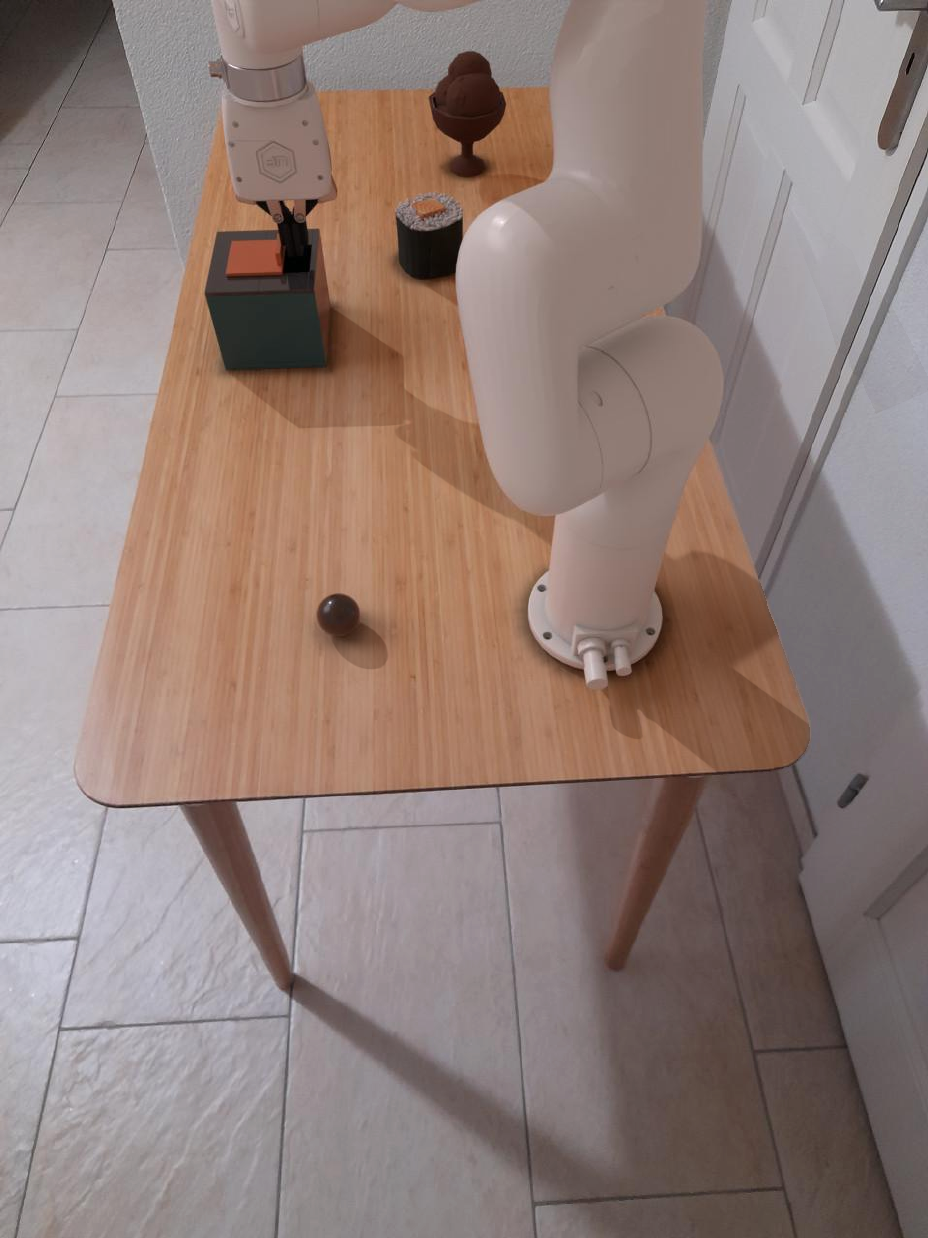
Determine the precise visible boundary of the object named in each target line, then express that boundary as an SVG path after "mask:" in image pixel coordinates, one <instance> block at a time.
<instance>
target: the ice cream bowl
mask: <svg viewBox="0 0 928 1238" xmlns="http://www.w3.org/2000/svg"><path fill="white" fill-rule="evenodd" d="M492 73H493V72H492V69H491V63H490V61H489V60H487V58H486V57H484V55H482V54H481V53H480V52H477V51H474V50H467V51H464V52H460V53H458V54H457V55H456V56H455V57H454V58H453V59H452V61H451V62H450V63H449V65H448V67H447V75H445V76H444V77H443V78H442V79H441V80H439V81H438V83H437V85H436V88H435V91H434V92H433V93H431V94H430V95H429V96H428V101H429V106H430V110H431V115H432V120H433V122H434V124H435V127H436V128H437V129H438V130H439V131H440V132H441V133H443V135H445V136H447V137H448V138H450V139H452V140H454V141H455V142H457V143H460V145H461V146H460V147H461V148H460V151H461V152H460V154H459V155H457V156H455V157H454V158H452V159H451V160H450V161H449V164H448V167H449V172H451V173H452V174H454V175H456V176H457V177H467V178H471V177H475V176H479V175H481V174H482V173H483V172H485V170H486V166H485V162H484V159H482V158H481V157H479V156H477V155H475V154H474V143H475V142H480V141H481V140H483V139H485V138H486V137H487V136H488V135H489V134H491V133H492V132H493V131H494V130H495V129H496V128H497V127H498V126H499V125H500V124H501V122H502V120H503V118H504V115H505V112H506V107H507V102H506V98H505V95H504V92H503V91H501V89H500V87H499V85H498V84H497V82H496V80H495V78H494V77H493V76H492V75H493V74H492Z"/></svg>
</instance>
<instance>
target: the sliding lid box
mask: <svg viewBox="0 0 928 1238" xmlns="http://www.w3.org/2000/svg"><path fill="white" fill-rule="evenodd" d="M307 229H308V236H309V244H308V245H304V250H303V257H298V255H296V253H295V255H294V256H293V257H288V253H287V247H286V249H285V257H284V265H283V273H282V275H261V276H229V277H227V276H226V270H227V264H228V259H229V254H230V248H231V243H232V241H249V240H277V235H278V233H279V232H278V229H263V230H262V229H260V230H258V229H256V230H226V231H225V230H224V231H216V234H215V237H214V238H215V239H214V243H213V249H212V253H211V259H210V263H209V268H208V273H207V278H206V282H205V287H204V292H203V294H204V296H205V300H206V305H207V308H208V311H209V315H210V319H211V323H212V326H213V329H214V333H215V337H216V340H217V345H218V348H219V351H220V354H221V359H222V361H223V366H224V369H225V371H244V370H245V371H247V370H274V369H275V370H277V369H278V370H279V369H305V368H306V369H307V368H327V366H328V352H329V339H330V338H329V337H330V336H329V335H330V322H331V308H332V307H331V306H332V305H331V299H330V291H329V286H328V277H327V271H326V265H325V258H324V251H323V245H322V238H321V230H320V228H307Z"/></svg>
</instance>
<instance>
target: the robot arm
mask: <svg viewBox="0 0 928 1238" xmlns="http://www.w3.org/2000/svg"><path fill="white" fill-rule="evenodd" d="M481 1H482V0H210V4H211V9H212V14H213V18H214V23H215V29H216V32H217V37H218V42H219V43H218V44H219V48H220V52H221V54H220V57H219V58H216V60H209V61H208V70H209V75H210V77H211V78H219V79H220V80H222V81H223V82H224V83H225V86H224V88H223V90H222V92H221V116H222V118H221V119H222V127H223V136H224V142H225V143H224V144H225V149H226V155H227V161H228V166H229V167H228V168H229V173H230V180H231V184H232V188H233V190H234V193H235V199H236V201H237V202H239V203H242V204H248V205H252V206H255V205H256V206H258V207H259V208H260V209H261V210H263V211H264V212H265V213H266V214H268V215H269V216H270V217H271V219H272V221H273V222H274V223H275V224H276V226H277V230H278V232H279V237H280V242H281V246H286V247H287V253H288V257H293V256H294V255H295V253H296V255H298V257H303V250H304V245H308V244H309V236H308V229H309V228H308V223H307V217H308V215H310V213H311V212H312V211H313V210H314V209H315V207H316V206H317V205H318V204H323V203H327V202H331V201H334V200H336V199H337V197H338V187H337V184H336V182H335V179H334V176H333V174H332V171H333V164H332V163H333V162H332V157H331V156H332V155H331V149H330V143H329V138H328V132H327V129H326V128H327V127H326V124H325V119H324V115H323V110H322V107H321V103H320V100H319V96H318V93H317V90H316V87H315V84H314V83H313V81H312V80H311V79H309V78H307V72H306V64H305V58H304V57H305V56H304V51H303V47H304V46H307V45H311V44H313V43H315V42H318V41H320V40H321V41H322V40H324V39H328V38H332V37H335V36H338V35H342V34H344V33H348V32H352V31H356V30H359V29H363V28H365V27H368V26H370V25H372V24H374V23H375V22H376V23H377V21H380V19H382V18H384V16H386V15H387V14H388V13H389V12H390V11H392V10H393V8H395V6H397V5H401V6H404V7H405V8H408V9H412V10H415V11H419V12H425V13H426V12H427V13H436V12H437V13H438V12H445V11H451V10H456V9H460V8H463V7H466V6H468V5H471V4H475V3H477V2H481ZM708 1H709V0H570V3H569V5H568V7H567V10H566V12H565V15H564V17H563V20H562V23H561V25H560V29H559V32H558V36H557V39H556V44H555V48H554V52H553V56H552V60H551V61H552V62H551V66H550V73H549V81H548V102H549V103H548V104H549V111H550V119H551V127H552V128H551V129H552V142H553V143H552V147H553V148H552V149H553V150H552V151H553V153H552V154H553V156H552V157H553V158H552V169H551V172H550V174H549V176H548V177H547V178H546V180H544V181H542V182H541V183H537V184H536V185H533V186H531V187H528V188H526V189H523V190H520V191H519V192H516V193H514V194H512V195H509V196H507V197H505V198H503V199H501V200H498V201H496V202H495V203H493V204H492V205H491V206H489V207H487V208H486V209H484V210H483V211H482V212H481V213H479V215H477V217H476V218H475V219H474V220H473V221H472V222H471V223H470V225H469V227H468V228H467V230H466V232H465V233H464V234H463V240H462V243H461V246H460V249H459V254H458V260H457V265H456V273H455V292H456V293H455V294H456V300H457V301H456V302H457V308H458V316H459V321H460V327H461V332H462V337H463V342H464V348H465V349H464V350H465V354H466V358H467V364H468V370H469V376H470V381H471V387H472V392H473V398H474V403H475V409H476V415H477V421H478V426H479V430H480V431H479V432H480V435H481V440H482V444H483V448H484V452H485V455H486V458H487V461H488V464H489V467H490V471H491V472H492V475H493V477H494V479H495V481H496V483H497V484H498V486H499V488H500V490H501V491H502V492H503V494H504V495H505V497H506V498H507V499H508V500H509V501H510V502H511V503H512V504H513V505H514V506H515V507H516V508H518V509H520V510H521V511H523V512H524V513H527V514H529V515H532V516H538V517H554V522H553V523H554V524H553V533H552V541H551V550H550V557H549V564H548V565H549V567H548V571H546V572H545V573H543V575H541V577H539V579H538V580H536V582H535V584H534V585H533V587H532V589H531V593H530V595H529V598H528V604H527V621H528V624H529V625H528V626H529V628H530V630H531V633H532V635H533V637H534V639H535V641H537V643H538V645H540V647H541V648H542V649H543V650H544V651H545V652H546V653H548V654H549V655H550V656H551V657H552V658H554V659H555V660H557V661H559V662H560V663H562V664H564V665H567V666H570V667H572V668H575V669H579V670H583V673H584V680H585V686H586V688H587V689H588V690H590V691H601V690H604V689H605V688H607V687H608V686H609V679H608V673H607V672H610V671H611V672H612V671H615V673H616V675H617V676H619V677H626V676H629V675H630V674H631V673H632V672H633V671H632V665H633V664H636V663H637V662H639V661H640V660H641V659H643V658H645V656H647V655H648V654H649V652H650V651H651V650H652V649H653V648H654V646H655V644H656V642H657V641H658V639H659V636H660V633H661V630H662V626H663V608H662V604H661V601H660V599H659V596H658V594H657V592H656V591H655V588H656V585H657V581H658V577H659V574H660V572H661V567H662V564H663V561H664V558H665V557H664V556H665V554H666V550H667V547H668V543H669V539H670V537H671V532H672V529H673V526H674V523H675V520H676V517H677V514H678V510H679V506H680V504H681V500H682V497H683V494H684V490H685V488H686V485H687V483H688V480H689V477H690V475H691V473H692V471H693V469H694V467H695V465H696V463H697V461H698V459H699V458H700V456H701V453H702V452H703V450H704V448H705V446H706V445H707V442H708V441H709V439H710V436H711V435H712V433H713V431H714V428H715V426H716V423H717V421H718V419H719V414H720V412H721V408H722V404H723V398H724V387H725V386H724V383H725V382H724V371H723V366H722V362H721V359H720V355H719V353H718V352H717V349H716V347H715V346H714V344H713V342H712V341H711V339H710V338H709V337H708V336H707V334H706V333H705V332H704V331H702V329H700V328H699V327H697V326H696V325H695V324H693V323H691V322H690V321H687V320H685V319H683V318H680V317H677V316H670V315H653V316H648V315H650V314H652V313H654V312H655V311H657V310H659V309H661V308H663V307H665V306H666V305H667V304H669V303H670V302H673V300H675V299H676V298H678V297H680V295H681V294H682V293H683V292H684V291H686V289H687V288H688V287H689V286H690V284H691V283H692V282H693V280H694V278H695V276H696V274H697V272H698V268H699V263H700V260H701V253H702V243H703V242H702V241H703V207H704V206H703V204H704V203H703V197H704V196H703V190H704V189H703V187H704V186H703V185H704V184H703V183H704V182H703V181H704V180H703V179H704V177H703V176H704V171H703V170H704V146H703V145H704V95H703V91H704V90H703V89H704V88H703V60H704V59H703V58H704V39H705V38H704V37H705V30H706V29H705V27H706V19H707V18H706V17H707V7H708ZM285 201H293V207H292V210H290V208H289V207H288V206H287V205H286V202H285Z"/></svg>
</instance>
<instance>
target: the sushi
mask: <svg viewBox="0 0 928 1238" xmlns="http://www.w3.org/2000/svg"><path fill="white" fill-rule="evenodd" d="M454 199H455V198H454V196H451V195H447V193H445V192H444V193H443V192H442V193H440V194H439V193H438V192H437V191H434V192H433V193H432V192H430V191H429V192H427V193H424V194H422V193H421V192H420V193H418V196H417V197H415V198H413V200H411V201H410V199H409V197H407V198H405V202H404V203H403V202H402V201H399V202H398V206H397V207H395V208H393V209H394V214H395V222H396V223H395V224H396V235H397V250H398V252H397V253H398V263H399V266H400V267H401V268H402V269H403V270H404V272H405V273H406V274H408V275H409V276H410V277H411V278H413V279H418V280H425V281H426V280H436V279H440V278H444V277H449V276H452V275H456V265H457V260H458V254H459V249H460V246H461V243H462V240H463V238H464V213H463V212H464V207H461V205H460V204H461V203H460V201H459V200H457V201H456V200H455V201H454Z"/></svg>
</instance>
